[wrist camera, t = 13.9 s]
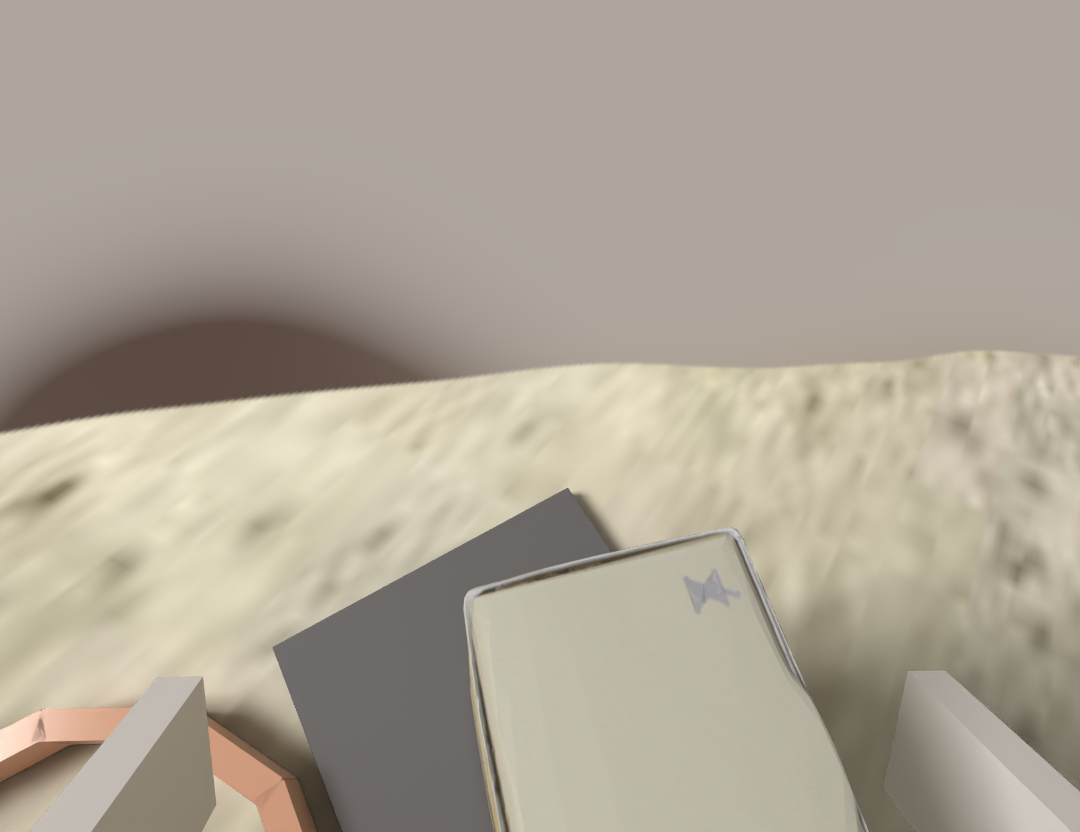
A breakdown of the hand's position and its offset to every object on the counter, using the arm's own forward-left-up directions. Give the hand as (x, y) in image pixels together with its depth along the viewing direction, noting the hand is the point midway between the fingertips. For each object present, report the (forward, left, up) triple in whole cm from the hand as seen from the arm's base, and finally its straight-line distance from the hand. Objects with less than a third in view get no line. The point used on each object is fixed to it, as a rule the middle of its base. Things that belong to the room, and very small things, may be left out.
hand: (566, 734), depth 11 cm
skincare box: (0, +1, -8) cm, 8 cm away
